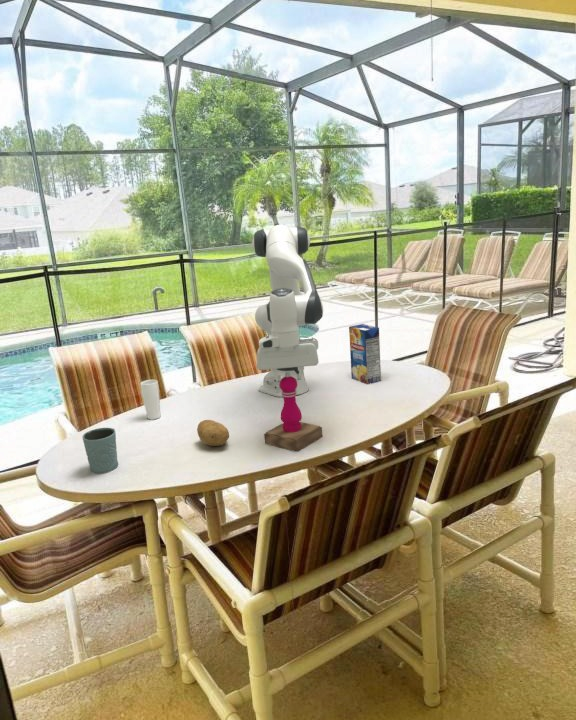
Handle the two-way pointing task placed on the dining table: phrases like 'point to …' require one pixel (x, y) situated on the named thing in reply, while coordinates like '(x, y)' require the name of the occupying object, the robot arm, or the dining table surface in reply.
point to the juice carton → (365, 353)
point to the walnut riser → (293, 437)
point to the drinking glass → (151, 398)
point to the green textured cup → (101, 450)
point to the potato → (212, 433)
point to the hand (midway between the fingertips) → (289, 380)
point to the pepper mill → (290, 404)
